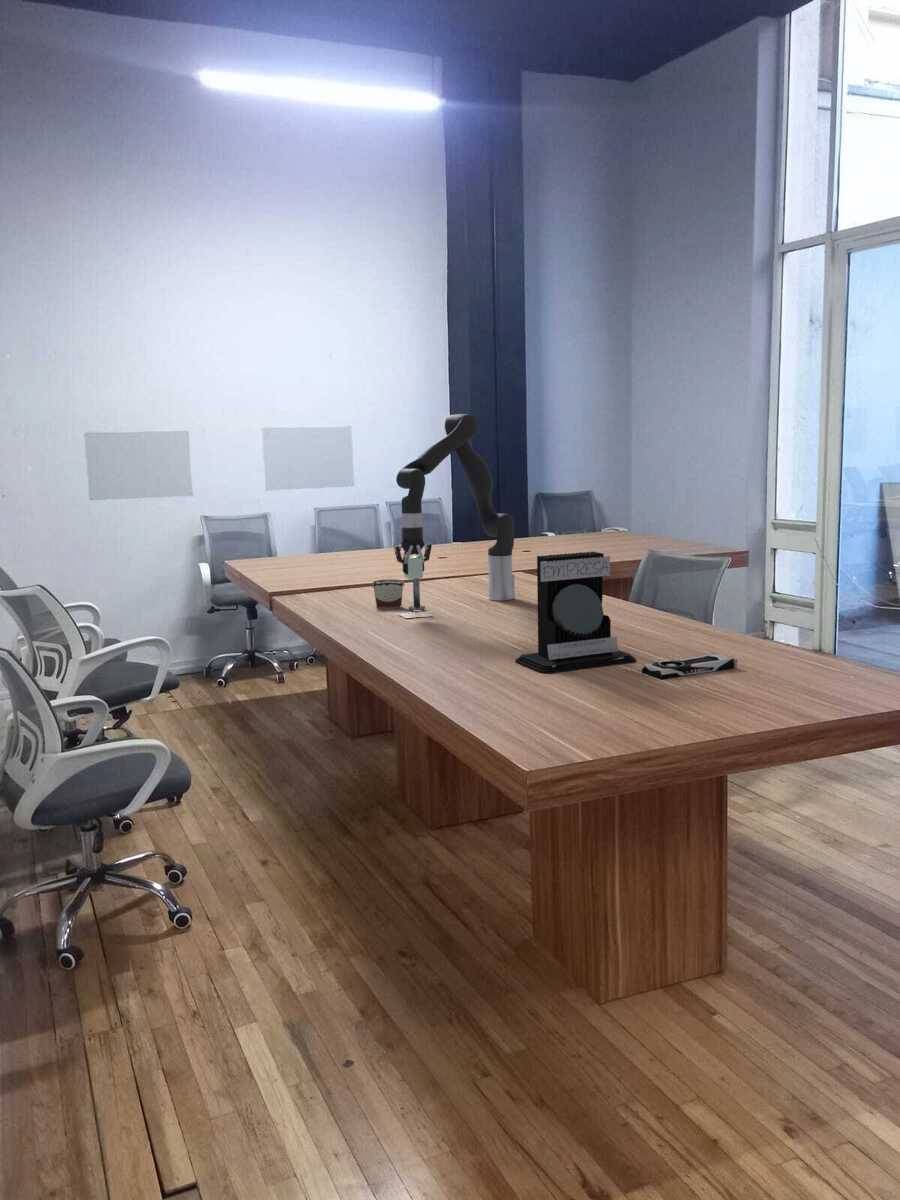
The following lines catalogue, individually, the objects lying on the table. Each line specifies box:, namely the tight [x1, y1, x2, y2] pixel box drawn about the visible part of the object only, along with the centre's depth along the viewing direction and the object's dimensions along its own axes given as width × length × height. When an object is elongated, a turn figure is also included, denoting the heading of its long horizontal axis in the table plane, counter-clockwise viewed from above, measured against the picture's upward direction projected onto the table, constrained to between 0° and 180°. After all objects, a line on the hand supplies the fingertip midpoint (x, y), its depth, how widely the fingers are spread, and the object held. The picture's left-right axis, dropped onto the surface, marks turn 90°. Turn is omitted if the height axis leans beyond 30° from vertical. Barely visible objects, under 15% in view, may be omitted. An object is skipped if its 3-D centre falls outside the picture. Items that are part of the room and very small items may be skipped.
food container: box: [371, 578, 405, 608], centre depth 383 cm, size 12×6×10 cm, turn 84°
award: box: [514, 551, 637, 674], centre depth 282 cm, size 30×19×30 cm, turn 114°
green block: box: [404, 556, 424, 580], centre depth 360 cm, size 5×5×7 cm
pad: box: [397, 611, 434, 619], centre depth 362 cm, size 10×10×1 cm
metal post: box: [408, 555, 426, 611], centre depth 373 cm, size 6×6×20 cm
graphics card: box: [641, 652, 738, 681], centre depth 271 cm, size 10×3×25 cm
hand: (413, 573), depth 360 cm, fingers closed on green block, 5 cm apart
